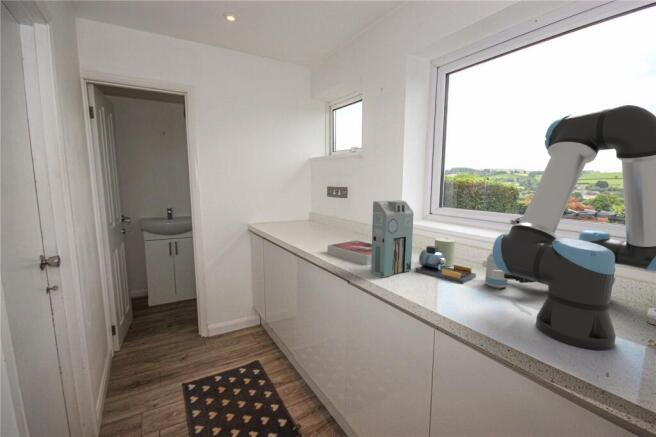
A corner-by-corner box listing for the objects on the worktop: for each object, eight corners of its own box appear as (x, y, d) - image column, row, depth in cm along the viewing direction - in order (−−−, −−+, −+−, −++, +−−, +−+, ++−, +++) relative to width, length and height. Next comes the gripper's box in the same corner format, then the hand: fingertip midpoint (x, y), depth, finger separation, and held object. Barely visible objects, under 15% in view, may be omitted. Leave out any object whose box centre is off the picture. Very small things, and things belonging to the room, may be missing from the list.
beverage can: (494, 282, 110) (497, 251, 108) (511, 288, 103) (514, 256, 102) (480, 284, 108) (483, 252, 106) (496, 290, 101) (499, 257, 100)
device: (384, 278, 113) (387, 202, 109) (370, 273, 119) (372, 201, 116) (411, 271, 123) (414, 201, 119) (397, 266, 129) (399, 200, 125)
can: (457, 263, 135) (458, 238, 134) (449, 267, 128) (451, 241, 127) (437, 260, 141) (439, 236, 140) (429, 263, 135) (431, 238, 133)
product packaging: (356, 248, 166) (356, 240, 165) (396, 258, 144) (396, 249, 144) (327, 254, 152) (327, 245, 152) (366, 266, 131) (367, 255, 130)
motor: (462, 283, 108) (464, 256, 106) (415, 271, 122) (416, 247, 121) (475, 277, 115) (477, 251, 114) (429, 266, 130) (431, 243, 129)
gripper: (573, 297, 88) (496, 290, 94) (538, 273, 112) (478, 268, 118) (576, 274, 88) (498, 268, 93) (540, 254, 111) (480, 250, 117)
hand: (487, 268), depth 106 cm, fingers open, 13 cm apart
